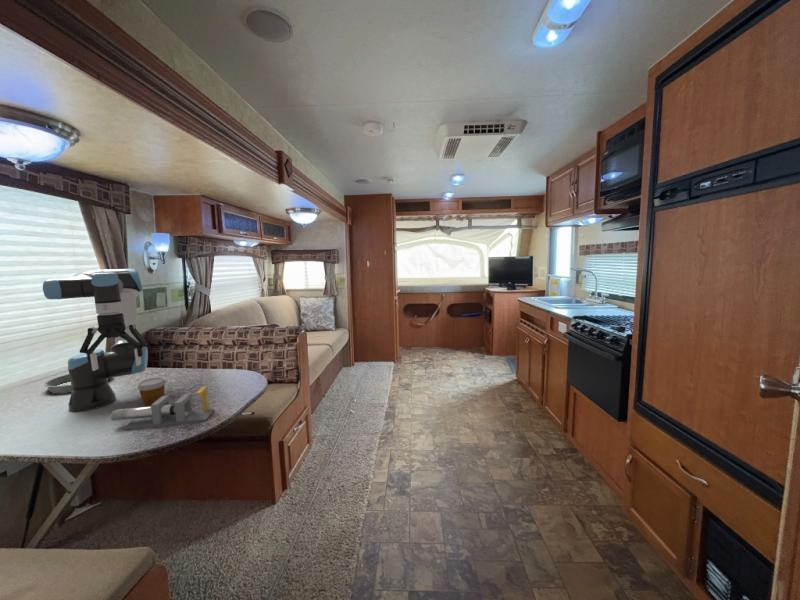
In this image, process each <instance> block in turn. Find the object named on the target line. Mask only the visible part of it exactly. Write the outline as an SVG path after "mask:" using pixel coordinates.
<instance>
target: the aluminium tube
mask: <svg viewBox="0 0 800 600" xmlns="http://www.w3.org/2000/svg"><path fill="white" fill-rule="evenodd" d="M161 413H162V416H166V415H176V411H175V403H172V404H171V403H170V405H162V406H161ZM146 417H152V411H151V406H149V407H144V406H141V407H131V408H130V407H129V408H120V409H114V410H112V412H111V414H110V420H111V421H113V422H117V421H124V420H126V421H127V420H134V419H137V418H146Z"/></svg>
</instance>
